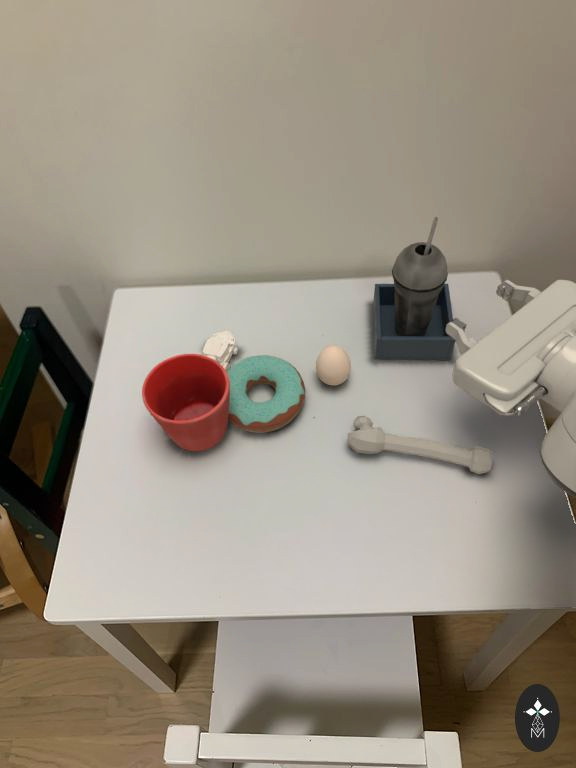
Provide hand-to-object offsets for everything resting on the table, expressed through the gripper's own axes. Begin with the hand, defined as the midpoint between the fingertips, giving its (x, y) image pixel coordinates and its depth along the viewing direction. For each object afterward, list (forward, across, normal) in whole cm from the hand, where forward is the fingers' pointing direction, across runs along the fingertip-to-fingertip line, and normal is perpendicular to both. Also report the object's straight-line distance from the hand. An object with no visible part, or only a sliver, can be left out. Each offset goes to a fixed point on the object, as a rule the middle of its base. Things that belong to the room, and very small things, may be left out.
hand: (475, 304), depth 74 cm
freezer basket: (+9, 0, -13) cm, 15 cm away
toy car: (+24, -25, -13) cm, 37 cm away
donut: (+14, -25, -13) cm, 31 cm away
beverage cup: (+9, 0, -12) cm, 15 cm away
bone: (-6, -15, -13) cm, 21 cm away
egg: (+10, -15, -13) cm, 22 cm away
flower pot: (+16, -34, -13) cm, 39 cm away
